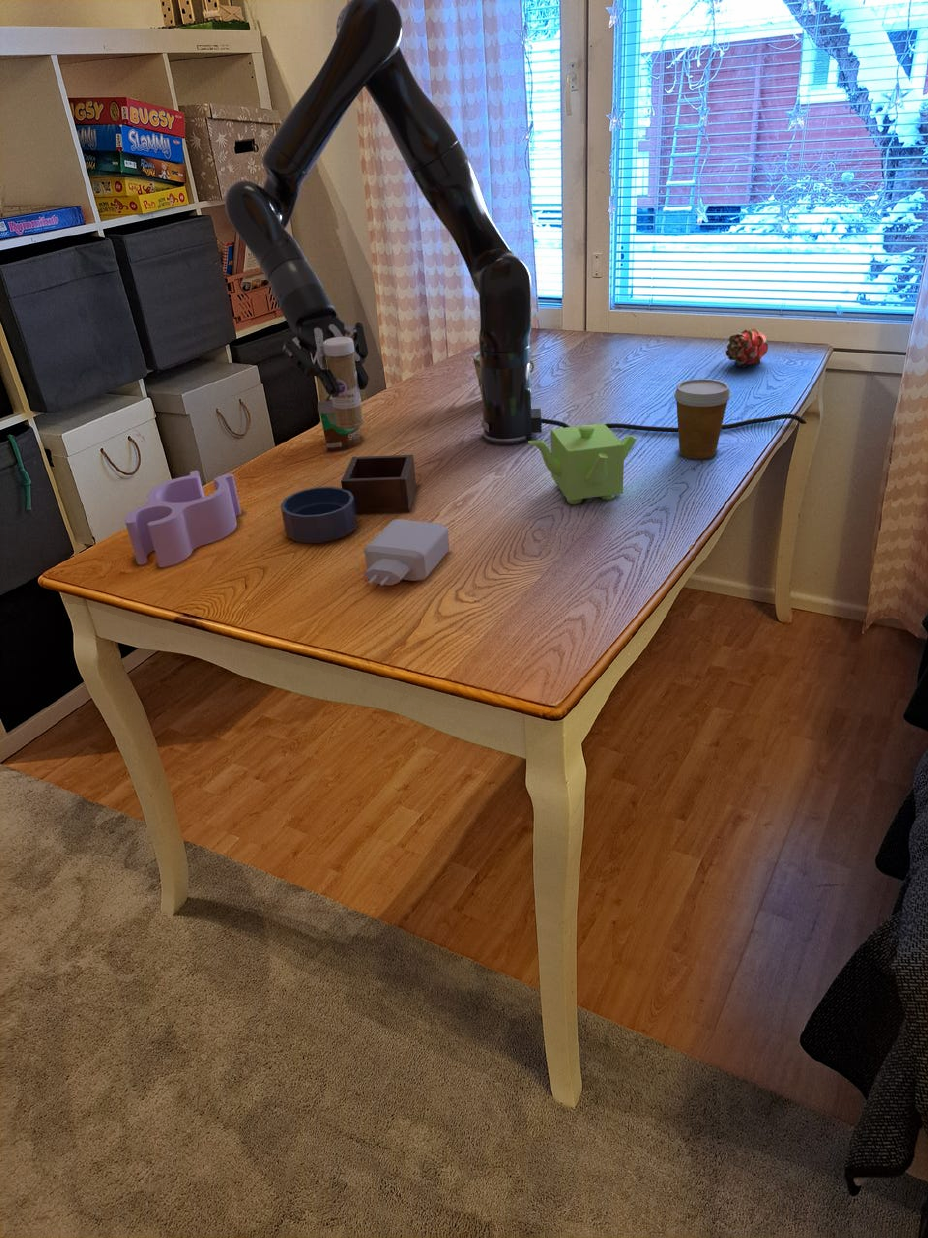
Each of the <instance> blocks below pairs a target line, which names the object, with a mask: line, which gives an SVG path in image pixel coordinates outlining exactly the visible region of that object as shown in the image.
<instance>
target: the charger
mask: <svg viewBox="0 0 928 1238" xmlns="http://www.w3.org/2000/svg"><path fill="white" fill-rule="evenodd" d="M363 551H364V556H365V558H364V559H365V565H366V571H364V573H363V576H364V577H365V578H366V579H367V580H369V581H368V582H367V584H369V585H372V584H373V583H375V584H378V585H380V587H381V586H382V587H383V586H384V585H385V586H393V585H396V584H399V583H400V582H401V581H402V580H405V581H413V582H416V581H417V582H419V581H424V580H426V578H427V577H428V576H429V575H430V574H431V573H432V571H434V569H435V568H436V566H438V564H439V563H440V562H441V561H442V559H443V558H444V557H445V556H446V555H447V553H448V552H450V537H449V529H448V527H447V526H445V525H444V524H442V523H437V522H430V521H429V522H428V521H427V522H426V521H419V520H418V521H417V520H411V519H410V520H409V519H401V518H400V519H393V520H391V521H390V522H389V523H388V524H387V525H386V526H385V527H384V528H383V529H382V530H381V531H380V532H379V533H378V534H377V535H376V536H375V537H374V538H373V539H372V540H371V541H370V542H369V543H368V544H367V545H366V546H365V547H364V549H363Z"/></svg>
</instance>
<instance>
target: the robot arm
mask: <svg viewBox="0 0 928 1238" xmlns="http://www.w3.org/2000/svg"><path fill="white" fill-rule="evenodd" d="M335 29H336V30H335V35H336V37H335V40H334V41H333V45H332V47H331V48H330V51H329V53H328V55H327V57H326V59H325V61H324V63H323V64H322V66H321V68H320V70H319V71H318V73H317V74H316V76H315V78H314V79H313V80H312V82H311V83H310V85H309V86H308V87H307V88H306V90H305V92H304V93H303V94H302V96H301V97H300V98H299V99H298V101H296V103H295V105H294V106H293V107H292V108H291V110H290V111H289V113H288V114H287V116H286V117H285V119H284V120H283V122H282V124H281V125H280V126H279V128H278V129H277V131H276V133H275V134H274V136H273V138H272V139H271V140H270V143H269V145H268V146H267V148H266V149H265V151H264V153H263V154H262V158H261V163H262V166H263V168H264V170H265V173H266V179H265V181H264V185H263V187H262V186H261V185H259V184H258V183H256V182H254V181H251V180H245V179H244V180H238V181H237V182H235V183H233V184H232V185H231V186H230V187H229V188H228V190H227V192H226V194H225V195H226V196H225V199H224V207H225V212H226V216H227V217H228V220H229V222H230V224H231V226H232V227H233V229H234V230H235V232H236V233H237V235H238V236H239V238H240V239H241V240H242V242H243V243H244V245H245V246H246V247H247V248H248V250H249V251H250V252H251V254H252V255H253V257H254V258H255V259H256V261H257V263H258V265H259V268H260V269H261V271H262V274H263V276H264V278H265V279H266V282H267V283H268V285H269V287H270V289H271V293H272V295H273V297H274V300H275V302H276V305H277V306H278V308H279V309H280V311H281V313H282V315H283V317H284V319H285V320H286V322H287V324H288V326H289V328H290V330H291V332H292V333H293V335H294V338H286V339H285V341H284V344H283V348H282V353H283V355H285V357H286V358H287V359H288V360H289V361H290V362H291V363H292V364H293V365H294V366H295V367H296V369H298V371H299V372H300V373H301V374H302V375H303V376H304V377H305V378H311V377H316V378H317V379H319V381H320V382H321V384H322V386H323V388H324V390H325V392H326V393H327V394H328V396H329V395H330V394H331V395H332V397H337V396H338V395H339V392H340V388H339V386H338V384H337V382H336V380H335V378H334V376H333V375H332V373H331V371H330V369H329V370H328V366H327V358H326V356H325V354H324V347H323V342H324V341H325V340H327V339H330V338H335V337H346V335H347V337H349V338H351V339H352V340H353V343H354V359H355V367H356V371H357V379H358V386H359V391H362V390H366V388H367V387H368V384H369V380H370V379H369V375H368V373H367V372H366V369H365V367H364V363H365V362H366V360H367V357H368V356H369V349H368V343H367V339H366V335H365V329H364V326H363V323H361V322H356V323H355V324H354V325H346V324H345V323H344V322H343V321H342V320H341V319H340V318H339V316H338V313H337V311H336V308H335V306H334V304H333V303H332V301H331V299H330V297H329V295H328V293H327V292H326V290H325V288H324V286H323V284H322V282H321V281H320V278H319V277H318V274H317V273H316V272H315V270H314V269H313V268H312V267H311V265H310V263H309V261H308V259H307V258H306V256H305V254H304V252H303V250H302V248H301V247H300V245H299V243H298V242H297V241H296V239H295V238H294V237H293V236H292V235H291V234H290V233H289V232H288V231H287V230H286V228H287V227H288V226H289V223H290V221H291V218H292V215H293V212H294V209H295V207H296V204H297V201H298V198H299V196H300V192H301V189H302V185H303V183H304V182H305V180H306V179H307V177H308V176H309V174H310V173H311V171H312V170H313V168H314V166H315V165H316V163H317V162H318V160H319V158H320V157H321V155H322V154H323V152H324V151H325V149H326V146H327V145H328V143H329V142H330V140H331V139H332V136H333V134H334V133H335V131H336V130H337V129H338V126H339V125H340V123H341V121H342V120H343V118H344V116H345V114H346V113H347V112H348V110H349V109H350V107H351V105H352V104H353V102H354V101H355V100H356V98H357V97H358V96H359V94H360V92H361V91H362V90H363V89H364V88H365V89H366V91H367V92H368V93H369V95H370V97H371V98H372V100H373V102H374V103H375V105H376V106H377V108H378V110H379V111H380V113H381V115H382V117H383V119H384V122H385V125H386V126H387V128H388V130H389V132H390V134H391V136H392V138H393V141H394V142H395V144H396V146H397V149H398V150H399V152H400V155H401V157H402V158H403V160H404V162H405V164H406V166H407V168H408V170H409V172H410V174H411V175H412V178H413V179H414V181H415V183H416V184H417V186H418V188H419V190H420V192H421V193H422V195H423V197H424V198H425V200H426V201H427V203H428V204H429V206H430V208H431V209H432V210H433V212H434V214H435V215H436V217H437V218H438V220H440V222H441V224H442V225H443V226H444V227H445V229H446V230H447V232H448V233H449V234H450V235H451V237H452V239H453V240H454V243H455V244H456V246H457V248H458V250H459V253H460V254H461V257H462V260H463V261H464V263H465V266H466V268H467V271H468V273H469V276H470V278H471V281H472V282H473V286H474V289H475V291H476V292H477V294H478V298H479V299H478V300H479V319H480V320H479V322H480V325H479V332H478V349H479V351H478V352H480V370H481V389H482V395H481V403H482V405H481V406H482V407H481V408H482V419H480V422H481V423H480V425H481V428H482V430H483V439H484V440H485V442H488V443H491V444H496V445H514V444H515V445H516V444H520V443H525V442H529V441H533V434H537V433H538V434H539V433H543V425H542V424H546V425H552V426H557V427H560V428H566V427H572V426H571V425H569V424H568V423H566V422H563V421H561V420H555V419H550V418H544V417H542V415H543V414H542V408H532V406H533V405H532V383H531V381H532V380H531V373H530V371H531V363H530V360H531V348H530V346H531V345H530V343H531V341H530V337H531V332H532V324H533V322H532V321H533V317H532V316H533V296H532V295H533V291H532V289H533V288H532V278H531V273H530V271H529V268H528V267H527V265H526V263H524V262H523V261H522V259H520V258H519V257H518V256H517V255H516V254H515V253H514V252H513V251H512V250H511V248H510V247H509V246H508V244H507V242H506V241H505V239H504V238H503V236H502V234H501V233H500V232H499V230H498V228H497V227H496V225H495V223H494V221H493V219H492V218H491V216H490V213H489V210H488V208H487V205H486V202H485V199H484V196H483V192H482V189H481V187H480V183H479V181H478V178H477V175H476V173H475V171H474V168H473V166H472V164H471V162H470V159H469V157H468V155H467V153H466V152H465V150H464V148H463V146H462V144H461V142H460V140H459V138H458V136H457V134H456V133H455V131H454V130H453V128H452V126H451V125H450V123H449V122H448V121H447V119H446V118H445V117H444V115H443V114H442V113H441V111H440V110H439V109H438V108H437V106H436V105H435V104H434V103H433V102H432V100H431V99H430V98H429V97H428V95H426V93H425V92H424V91H423V89H422V88H421V87H420V85H419V83H418V82H417V81H416V78H415V77H414V75H413V73H412V72H411V69H410V67H409V64H408V62H407V61H406V58H405V56H404V54H403V51H402V49H401V47H400V45H401V42H402V39H403V31H404V30H403V21H402V17H401V12H400V11H399V9H398V7H397V5H396V3H395V1H393V0H349V1H348V3H346V5H345V6H344V7H343V8H342V10H341V11H340V13H339V15H338V17H337V21H336V27H335ZM302 349H304V350H305V351H307V352H309V353H310V358H311V359H310V358H309V356H308V355H307V354H306V353H305V352H304V351H303V350H302ZM786 419H787V420H789V419H790V420H794V421H797V422H798V423H799V424H802V425H806V424H807V421H806V420H805V419H804V418H803V417H801V416H800V415H797V414H794V413H780V414H775V415H771V416H765V417H764V416H763V417H757V418H750V419H745V420H741V421H737V422H733V423H723V424H722V428H721V431H725V430H730V429H736V428H740V427H745V426H750V425H754V424H760V423H761V424H762V423H768V422H774V421H778V420H786ZM604 424H605V425H606V426H607V427H608V428H609V429H626V430H634V431H642V432H643V431H644V432H657V433H658V432H660V433H677V434H678V427H674V426H673V427H672V426H671V427H668V426H654V425H653V426H652V425H651V426H650V425H641V424H631V423H620V422H619V423H617V422H609V423H608V422H607V423H604Z"/></svg>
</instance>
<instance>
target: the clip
mask: <svg viewBox="0 0 928 1238" xmlns="http://www.w3.org/2000/svg"><path fill="white" fill-rule="evenodd" d="M212 479H213V484H214V488H215V491H214V492H211V494H209V495H205V493H204V492H205V491H204V489H203V484H202V480H201V475H200V472H199V470H192V471H190V472H189V475H184V476H180V477H176V478H171V479H169V480H166V481H164V482H161V483H159V484H158V485H156V486H154V487H153V488H152V489H150V491H149V492H148V493H147V495H146V499H147V501H146V502H145V503H144V504H143V505H141V506H138V507H136V508H134V509H133V510H131V511H129V512H128V513H127V514H126V515H125V516H124V523H125V526H126V530H127V533H128V537H129V539H130V540H129V541H130V543H131V546H132V550H133V554H134V557H135V561H136V563H137V564H138V565H139V566H142V565H146V564H147V563H148V555H150V554H151V553H153V552H154V553H155V556H156V557H155V558H156V561H157V564H158V567H159V568H166V567H170V566H173V565H176V564H179V563H182V562H183V561H185V560H186V559H188V558H189V557H190V556H191V555H192V553H193V551H194V550H196V549H197V548H199V547H202V546H205V545H208V544H211V543H214V542H218V541H219V540H222V539H224V538H226V537H227V536H229V535H230V534H232V533H233V532H234V531H235V529H236V528H237V525H238V523H237V518H236V517H237V516H238V517H239V516H241V515H242V511H241V506H240V505H241V504H240V499H239V496H238V492H237V487H236V482H235V478H234V473H226V474H222V475H219V476H216V477H214V478H212Z"/></svg>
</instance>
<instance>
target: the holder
mask: <svg viewBox="0 0 928 1238" xmlns="http://www.w3.org/2000/svg"><path fill="white" fill-rule="evenodd" d="M340 484H341V488H343V489H345V490H347V491H350V492H351V493H352V495H353V497H354V501H355V508H356V515H359V514H361V515H362V514H386V513H387V514H388V513H390V514H393V513H410V511H411V507H412V503H413V500H414V496H415V492H416V489H417V478H416V468H415V458H414V455H413V454H396V455H395V454H394V455H371V456H370V455H369V456H352V457H351V458H350V461H349V463H348V465H347V468H346V469H345V472H344V474H343V475H342V478H341V480H340Z"/></svg>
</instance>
